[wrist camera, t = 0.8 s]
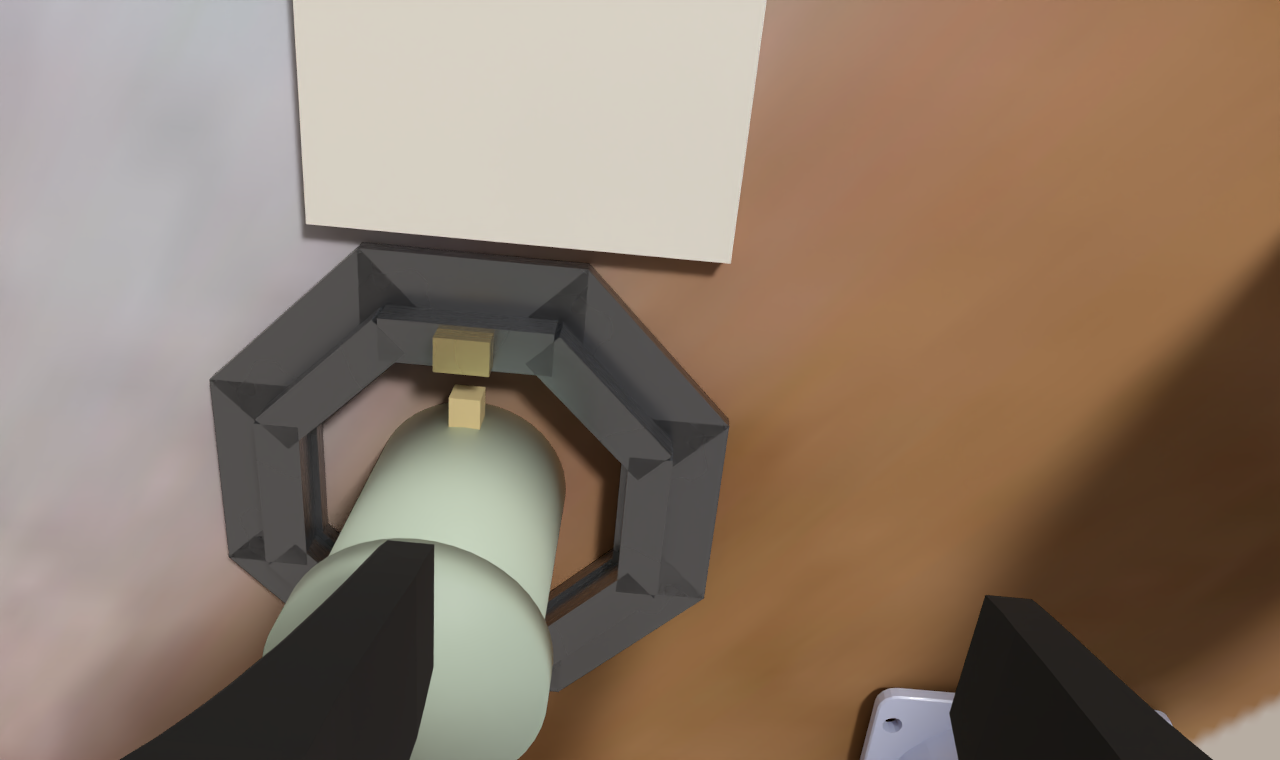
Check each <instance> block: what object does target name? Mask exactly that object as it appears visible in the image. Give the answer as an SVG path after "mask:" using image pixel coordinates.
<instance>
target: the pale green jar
mask: <svg viewBox="0 0 1280 760" xmlns="http://www.w3.org/2000/svg"><path fill="white" fill-rule="evenodd" d="M485 390H486V387H479V386H468V385H457V384H455V385H454V387H453V390H452V392H451V394H450V397H449V403H445V404H440V405H436V406H433V407H430V408H427V409H424V410H422V411H420V412H418V413H417V414H415V415H413V416H412V417H410V418H409V419H407V420H406V421H405V422H404V423H402V424H401V425H400V426H399V427H398V428H397V429H396V430H395V432H394V433H393V434H392V435H391V437H390V438H389V440H388V442H387V444H386V445H385V447H384V449H383V451H382V453H381V455H380V457H379V459H378V461H377V463H376V465H375V467H374V468H373V470H372V472H371V474H370V476H369V478H368V480H367V482H366V484H365V486H364V488H363V490H362V492H361V494H360V496H359V498H358V500H357V502H356V504H355V505H354V507H353V509H352V511H351V513H350V515H349V517H348V519H347V521H346V523H345V525H344V527H343V529H342V531H341V533H340V535H339V537H338V539H337V541H336V542H335V544H334V546H333V548H332V550H331V552H330V554H329V556H328V557H327V558H325V559H324V560H322V561H321V562H319V563H318V564H316V565H315V566H314V567H313V568H312V569H310V570H309V571H308V572H307V573H306V574H305V575H304V576H303V577H302V579H301V580H300V581H299V582H298V583H297V585H296V586H295V588H294V589H293V591H292V593H291V595H290V596H289V598H288V600H287V602H286V604H285V605H284V607H283V609H282V611H281V613H280V615H279V617H278V618H277V620H276V622H275V624H274V626H273V628H272V630H271V631H270V633H269V635H268V638H267V641H266V644H265V647H264V651H263V656H265V655H266V654H267V653H268V652H269V651H271V650H272V649H273V648H274V647H275V646H276V645H278V644H279V643H280V642H281V641H282V640H283V639H284V638H286V637H287V636H288V635H289V634H290V633H291V632H292V631H293V630H294V629H295V628H296V627H298V626H299V625H300V624H301V623H302V622H303V621H304V620H305V619H306V618H307V617H308V616H309V615H310V614H312V613H313V612H314V611H315V610H316V609H317V608H318V607H319V606H320V605H321V604H322V603H323V602H324V601H325V600H326V599H327V598H328V597H330V596H331V595H332V594H333V593H334V592H335V591H336V590H337V589H338V588H339V587H340V586H341V585H342V584H343V583H344V582H345V581H346V580H347V579H348V578H349V577H350V576H351V575H352V574H353V573H354V572H355V571H356V570H357V569H358V568H359V566H360V565H361V564H362V563H363V562H364V561H365V560H366V559H367V558H368V557H369V556H370V555H371V554H372V553H373V552H374V551H375V550H376V549H377V548H378V547H379V546H380V545H382V544H383V543H384V542H386V541H387V540H393V541H403V542H414V543H425V544H434V668H433V672H432V677H431V681H430V685H429V690H428V694H427V699H426V703H425V707H424V711H423V716H422V720H421V724H420V728H419V732H418V736H417V740H416V743H415V745H414V748H413V751H412V754H411V757H410V760H517V759H518V758H519V757H521V756H522V755H523V754H524V753H525V752H526V751H527V749H528V748H529V747H530V745H531V744H532V743H533V741H534V740H535V738H536V736H537V735H538V733H539V731H540V729H541V727H542V724H543V721H544V718H545V715H546V709H547V703H548V696H549V689H550V682H551V675H552V668H553V646H552V640H551V635H550V632H549V629H548V626H547V624H546V621H545V616H546V610H547V604H548V598H549V592H550V586H551V580H552V574H553V567H554V561H555V555H556V549H557V543H558V537H559V531H560V525H561V519H562V513H563V507H564V501H565V494H566V483H565V477H564V471H563V468H562V465H561V462H560V460H559V458H558V456H557V454H556V452H555V450H554V449H553V447H552V446H551V444H550V443H549V441H548V440H547V439H546V438H545V437H544V436H543V434H542V433H541V432H540V431H538V430H537V429H536V428H535V427H534V426H533V425H532V424H530V423H529V422H527V421H526V420H524V419H523V418H521V417H519V416H518V415H516V414H514V413H512V412H510V411H507V410H505V409H502V408H500V407H496V406H493V405H489V404H485Z"/></svg>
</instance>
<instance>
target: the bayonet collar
mask: <svg viewBox="0 0 1280 760" xmlns="http://www.w3.org/2000/svg"><path fill="white" fill-rule="evenodd" d="M395 362H396V363H407V364H418V365H429V366H433V372H439V373H450V374H461V375H472V376H483V377H489V376H490V373H491V371H495V372H506V373H517V374H528V375H536V376H537V377H538V378H539V379H540V380H541V381H542V382H543V383H544V384H545V385H546V386H547V387H548V388H549V389H550V390H551V391H552V392H553V393H554V394H555V395H556V396H557V397H558V398H559V399H560V400H561V402H562V403H563V404H564V405H565V406H566V407H567V408H568V409H569V410H570V411H571V412H572V413H573V414H574V415H575V416H576V417H577V418H578V419H579V420H580V421H581V422H582V423H583V424H584V425H585V426H586V427H587V429H588V430H589V431H590V432H591V433H592V434H593V435H594V436H595V437H596V438H597V439H598V440H599V441H600V442H601V443H602V444H603V445H604V446H605V447H606V448H607V449H608V450H609V451H610V452H611V453H612V454H613V455H614V457H615V458H616V459H617V460H618V461H619V462H620V463H621V474H620V484H619V495H618V505H617V516H616V526H615V537H614V548H613V549H612V550H611V551H609V552H608V553H606V554H605V555H603V556H602V557H600V558H599V559H597V560H596V561H595V562H593V563H592V564H590V565H589V566H587V567H586V568H584V569H583V570H581V571H580V572H578V573H577V574H576V575H574V576H573V577H571V578H570V579H568V580H567V581H565V582H564V583H562V584H561V585H559V586H558V587H557V588H555V589H554V590H552V591H551V592H549V598H548V604H547V610H546V616H545V621H546V624H547V626H548V629H549V632H550V635H551V640H552V646H553V668H552V675H551V682H550V689H549V691H555V692H559V691H560V690H562V689H563V688H565V687H566V686H568V685H570V684H571V683H573V682H574V681H576V680H577V679H579V678H580V677H582V676H584V675H585V674H587V673H588V672H590V671H591V670H593V669H594V668H596V667H598V666H599V665H601V664H602V663H604V662H605V661H607V660H608V659H610V658H612V657H613V656H615V655H616V654H618V653H619V652H621V651H622V650H624V649H626V648H627V647H629V646H630V645H632V644H633V643H635V642H637V641H638V640H640V639H641V638H643V637H644V636H646V635H647V634H649V633H651V632H652V631H654V630H655V629H657V628H658V627H660V626H661V625H663V624H665V623H666V622H668V621H669V620H671V619H672V618H674V617H675V616H677V615H679V614H680V613H682V612H683V611H685V610H686V609H688V608H689V607H691V606H693V605H694V604H696V603H697V602H699V601H700V600H702V599H704V594H705V587H706V580H707V573H708V566H709V560H710V553H711V546H712V539H713V532H714V526H715V519H716V512H717V505H718V498H719V492H720V485H721V478H722V471H723V464H724V458H725V451H726V444H727V437H728V430H729V420H728V418H727V417H726V416H725V415H724V414H723V413H722V411H721V410H720V409H719V408H718V407H717V406H716V405H715V404H714V402H713V401H712V400H711V399H710V398H709V397H708V396H707V395H706V393H705V392H704V391H703V390H702V389H701V388H700V387H699V386H698V385H697V383H696V382H695V381H694V380H693V379H692V378H691V377H690V376H689V374H688V373H687V372H686V371H685V370H684V369H683V368H682V367H681V365H680V364H679V363H678V362H677V361H676V360H675V359H674V358H673V357H672V355H671V354H670V353H669V352H668V351H667V350H666V349H665V348H664V346H663V345H662V344H661V343H660V342H659V341H658V340H657V339H656V337H655V336H654V335H653V334H652V333H651V332H650V331H649V330H648V329H647V327H646V326H645V325H644V324H643V323H642V322H641V321H640V320H639V318H638V317H637V316H636V315H635V314H634V313H633V312H632V311H631V309H630V308H629V307H628V306H627V305H626V304H625V303H624V302H623V301H622V299H621V298H620V297H619V296H618V295H617V294H616V293H615V292H614V290H613V289H612V288H611V287H610V286H609V285H608V284H607V283H606V281H605V280H604V279H603V278H602V277H601V276H600V275H599V274H598V273H597V271H596V270H595V269H594V268H593V267H592V266H591V265H590V264H589V263H578V262H568V261H557V260H546V259H535V258H525V257H514V256H503V255H492V254H482V253H471V252H460V251H450V250H439V249H428V248H417V247H407V246H396V245H385V244H374V243H364V242H362V243H361V244H360V245H359V246H358V247H357V248H356V249H355V250H354V251H353V252H352V253H350V254H349V255H348V256H347V257H346V258H345V259H344V260H343V261H341V262H340V263H339V264H338V265H337V266H336V267H335V268H334V269H332V270H331V271H330V272H329V273H328V274H327V275H326V276H325V277H323V278H322V279H321V280H320V281H319V282H318V283H317V284H316V285H314V286H313V287H312V288H311V289H310V290H309V291H308V292H307V293H306V294H304V295H303V296H302V297H301V298H300V299H299V300H298V301H297V302H295V303H294V304H293V305H292V306H291V307H290V308H289V309H288V310H286V311H285V312H284V313H283V314H282V315H281V316H280V317H279V318H277V319H276V320H275V321H274V322H273V323H272V324H271V325H270V326H268V327H267V328H266V329H265V330H264V331H263V332H262V333H261V334H260V335H258V336H257V337H256V338H255V339H254V340H253V341H252V342H251V343H249V344H248V345H247V346H246V347H245V348H244V349H243V350H242V351H240V352H239V353H238V354H237V355H236V356H235V357H234V358H233V359H231V360H230V361H229V362H228V363H227V364H226V365H225V366H224V367H222V368H221V369H220V370H219V371H218V372H216V373H215V374H214V375H213V376H212V377H211V379H210V387H211V396H212V405H213V414H214V423H215V432H216V441H217V450H218V459H219V468H220V477H221V486H222V495H223V504H224V513H225V522H226V531H227V540H228V549H229V558H231V559H232V560H233V561H235V562H236V563H237V564H238V565H240V566H241V567H242V568H243V569H244V570H246V571H247V572H248V573H249V574H250V575H252V576H253V577H254V578H255V579H256V580H258V581H259V582H260V583H261V584H262V585H264V586H265V587H266V588H267V589H268V590H270V591H271V592H272V593H273V594H275V595H276V596H277V597H278V598H279V599H281V600H282V601H283V602H284V603H285V604H286V602H287V600H288V598H289V596H290V595H291V593H292V591H293V589H294V588H295V586H296V585H297V583H298V582H299V581H300V580H301V579H302V577H303V576H304V575H305V574H306V573H307V572H308V571H309V570H310V569H312V568H313V567H314V566H315V565H316V564H318V563H319V562H321V561H322V560H324V559H325V558H327V557H328V556H329V554H330V552H331V550H332V548H333V546H334V544H335V542H336V541H337V539H338V537H339V535H340V534H339V533H338V532H337V531H336V530H335V529H334V528H332V527H331V526H330V525H329V524H328V516H327V498H326V481H325V463H324V445H323V428H322V422H324V421H325V420H326V419H327V418H328V417H330V416H331V415H332V414H333V413H334V412H336V411H337V410H338V409H339V408H341V407H342V406H343V405H344V404H345V403H347V402H348V401H349V400H350V399H351V398H353V397H354V396H355V395H356V394H357V393H359V392H360V391H361V390H362V389H363V388H365V387H366V386H367V385H368V384H370V383H371V382H372V381H373V380H374V379H376V378H377V377H378V376H379V375H380V374H382V373H383V372H384V371H385V370H386V369H388V368H389V367H390V366H391V365H392V364H394V363H395Z"/></svg>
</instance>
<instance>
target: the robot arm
mask: <svg viewBox="0 0 1280 760" xmlns="http://www.w3.org/2000/svg"><path fill="white" fill-rule="evenodd" d="M433 668H434V544H425V543H414V542H403V541H393V540H387V541H386V542H384V543H383V544H382V545H380V546H379V547H378V548H377V549H376V550H375V551H374V552H373V553H372V554H371V555H370V556H369V557H368V558H367V559H366V560H365V561H364V562H363V563H362V564H361V565H360V566H359V568H358V569H357V570H356V571H355V572H354V573H353V574H352V575H351V576H350V577H349V578H348V579H347V580H346V581H345V582H344V583H343V584H342V585H341V586H340V587H339V588H338V589H337V590H336V591H335V592H334V593H333V594H332V595H331V596H330V597H328V598H327V599H326V600H325V601H324V602H323V603H322V604H321V605H320V606H319V607H318V608H317V609H316V610H315V611H314V612H313V613H312V614H310V615H309V616H308V617H307V618H306V619H305V620H304V621H303V622H302V623H301V624H300V625H299V626H298V627H296V628H295V629H294V630H293V631H292V632H291V633H290V634H289V635H288V636H287V637H286V638H284V639H283V640H282V641H281V642H280V643H279V644H278V645H276V646H275V647H274V648H273V649H272V650H271V651H269V652H268V653H267V654H266V655H265V656H263V657H262V658H261V659H260V660H258V661H257V662H256V663H255V664H254V665H252V666H251V667H250V668H249V669H248V670H246V671H245V672H244V673H243V674H242V675H240V676H239V677H238V678H237V679H236V680H234V681H233V682H232V683H231V684H229V685H228V686H227V687H226V688H224V689H223V690H222V691H220V692H219V693H218V694H216V695H215V696H214V697H213V698H211V699H210V700H209V701H207V702H206V703H205V704H203V705H202V706H200V707H199V708H198V709H196V710H195V711H194V712H192V713H191V714H189V715H188V716H186V717H185V718H184V719H182V720H181V721H179V722H178V723H176V724H175V725H174V726H172V727H171V728H169V729H168V730H167V731H165V732H164V733H162V734H161V735H159V736H158V737H156V738H154V739H153V740H151V741H150V742H148V743H146V744H145V745H143V746H141V747H140V748H138V749H137V750H135V751H133V752H132V753H130V754H128V755H127V756H125V757H123V758H122V759H120V760H410V757H411V754H412V751H413V748H414V745H415V743H416V740H417V736H418V732H419V728H420V724H421V720H422V716H423V711H424V707H425V703H426V699H427V694H428V690H429V685H430V681H431V677H432V672H433ZM890 718H896V720H894V721H891V722H886V720H887V719H890ZM860 760H1213V759H1211V758H1210V757H1209V756H1208V755H1206V754H1205V753H1204V752H1203V751H1202V750H1200V749H1199V748H1198V747H1197V746H1195V745H1194V744H1193V743H1192V742H1191V741H1189V740H1188V739H1187V738H1186V737H1185V736H1183V735H1182V734H1181V733H1180V732H1179V731H1178V730H1176V729H1175V728H1174V727H1173V725H1172V723H1171V721H1170V720H1169V718H1168V717H1167V715H1166V714H1164V713H1163V712H1162V711H1158V710H1154V709H1152V708H1151V707H1150V706H1149V705H1148V704H1147V703H1146V702H1145V701H1143V700H1142V699H1141V698H1140V697H1139V696H1138V695H1137V694H1136V693H1135V692H1133V691H1132V690H1131V689H1130V688H1129V687H1128V686H1127V685H1126V684H1125V683H1124V682H1122V681H1121V680H1120V679H1119V678H1118V677H1117V676H1116V675H1115V674H1114V673H1113V672H1112V671H1110V670H1109V669H1108V668H1107V667H1106V666H1105V665H1104V664H1103V663H1102V662H1101V661H1100V660H1099V659H1098V658H1096V657H1095V656H1094V655H1093V654H1092V653H1091V652H1090V651H1089V650H1088V649H1087V648H1086V647H1085V646H1084V645H1082V644H1081V643H1080V642H1079V641H1078V640H1077V639H1076V638H1075V637H1074V636H1073V635H1072V634H1071V633H1070V632H1068V631H1067V630H1066V629H1065V628H1064V627H1063V626H1062V625H1061V624H1060V623H1059V622H1058V621H1056V620H1055V619H1054V618H1053V617H1052V616H1051V615H1050V614H1049V613H1047V612H1046V611H1045V610H1044V609H1043V608H1042V607H1040V606H1039V605H1038V604H1037V603H1036V602H1034V601H1033V600H1032V599H1023V598H1012V597H1001V596H990V595H985V598H984V602H983V605H982V608H981V611H980V615H979V618H978V621H977V624H976V628H975V631H974V634H973V637H972V641H971V644H970V647H969V650H968V654H967V657H966V660H965V663H964V667H963V670H962V673H961V676H960V680H959V683H958V686H957V689H956V693H952V692H940V691H928V690H917V689H905V688H889V689H887V690H884V691H882V692H881V693H880V694H879V695H878V696H877V698H876V699H875V702H874V706H873V710H872V714H871V718H870V722H869V726H868V730H867V734H866V738H865V742H864V745H863V749H862V753H861V757H860Z"/></svg>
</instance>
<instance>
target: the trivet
mask: <svg viewBox="0 0 1280 760" xmlns="http://www.w3.org/2000/svg"><path fill="white" fill-rule="evenodd" d="M766 1H767V0H293V12H294V29H295V46H296V63H297V80H298V97H299V114H300V131H301V147H302V164H303V181H304V198H305V215H306V224H311V225H322V226H333V227H343V228H354V229H365V230H375V231H386V232H397V233H408V234H418V235H429V236H440V237H450V238H461V239H472V240H483V241H493V242H504V243H515V244H525V245H536V246H547V247H558V248H568V249H579V250H590V251H600V252H611V253H622V254H633V255H643V256H654V257H665V258H675V259H686V260H697V261H707V262H718V263H729V264H731V257H732V249H733V242H734V235H735V228H736V220H737V213H738V206H739V198H740V191H741V184H742V176H743V169H744V162H745V154H746V147H747V140H748V132H749V125H750V118H751V110H752V103H753V96H754V89H755V81H756V74H757V67H758V59H759V52H760V45H761V37H762V30H763V23H764V15H765V8H766Z"/></svg>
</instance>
